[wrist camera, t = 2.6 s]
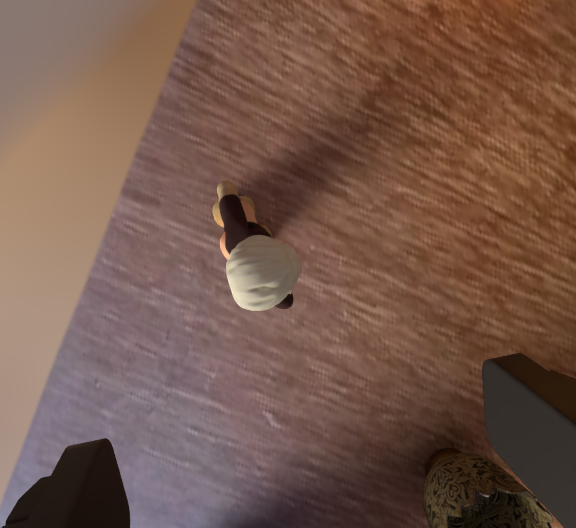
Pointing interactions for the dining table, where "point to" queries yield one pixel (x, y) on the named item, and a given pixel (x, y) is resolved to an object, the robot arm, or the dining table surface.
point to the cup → (477, 494)
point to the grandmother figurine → (253, 254)
